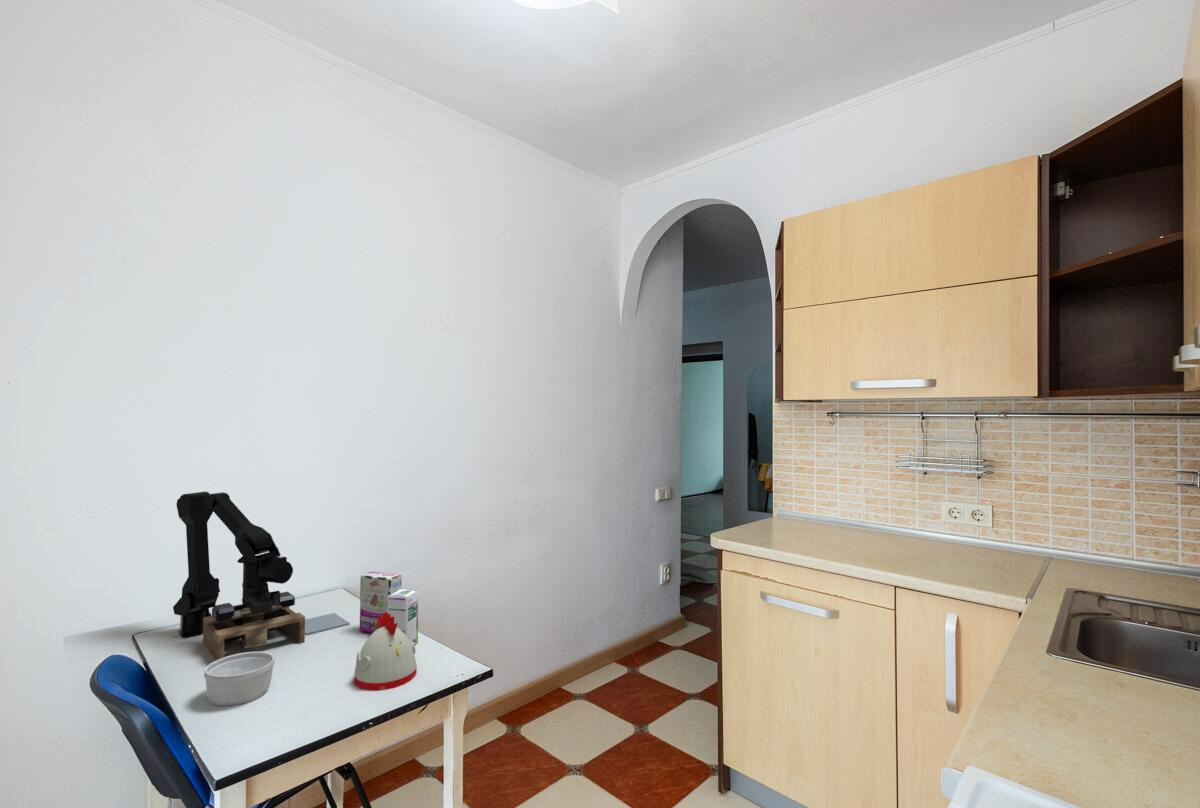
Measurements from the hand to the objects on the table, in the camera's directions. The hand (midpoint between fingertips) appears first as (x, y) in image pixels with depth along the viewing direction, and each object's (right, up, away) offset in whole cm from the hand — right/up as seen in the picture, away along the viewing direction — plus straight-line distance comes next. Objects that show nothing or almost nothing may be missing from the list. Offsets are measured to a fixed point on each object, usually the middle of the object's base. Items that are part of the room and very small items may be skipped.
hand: (253, 637), depth 155 cm
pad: (+11, -2, +14) cm, 18 cm away
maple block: (0, -2, 0) cm, 2 cm away
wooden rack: (0, -2, 0) cm, 2 cm away
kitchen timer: (+43, -2, -19) cm, 47 cm away
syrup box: (+41, -2, -1) cm, 41 cm away
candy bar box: (+31, -2, +8) cm, 32 cm away
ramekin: (+14, -1, -28) cm, 32 cm away
